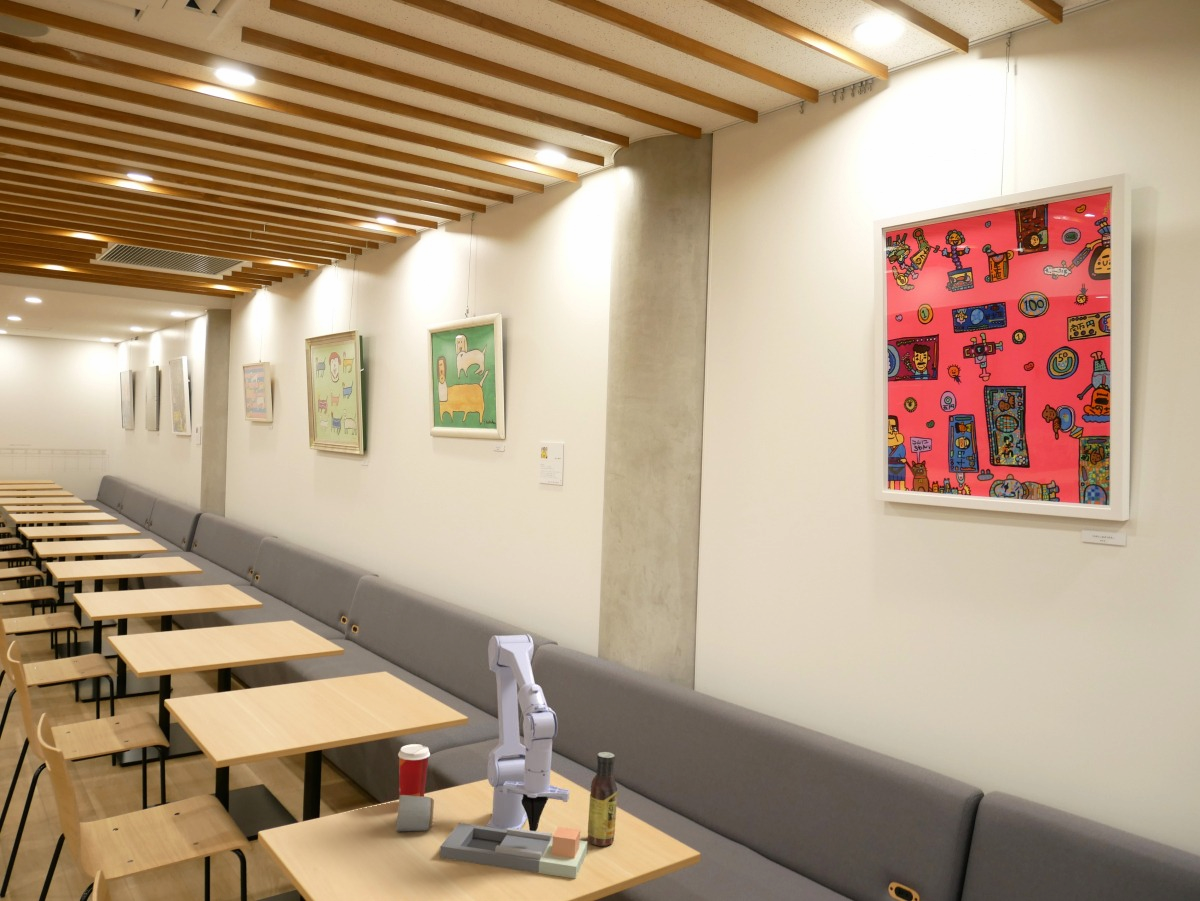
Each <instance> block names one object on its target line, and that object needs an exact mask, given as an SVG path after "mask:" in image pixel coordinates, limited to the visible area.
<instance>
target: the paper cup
mask: <svg viewBox="0 0 1200 901" xmlns="http://www.w3.org/2000/svg"><path fill="white" fill-rule="evenodd" d="M429 749H430V748H429V747H428V746H425V745H422V744H418V743H417V744H416V743H413V744H412V743H411V744H406V745H403V746H401V747H400V748H399V752H398V754H397V756H398V757H399V758H398V759H399V760H398V761H399V764H398V765H399V768H398V770H399V772H398V773H399V774H398V777H399V780H398V783H399V784H398V793H399V795H398V798H399V797H400V795H408V796H423V797H425V789H426V783H427V774H428V765H429V757H430V756H431V753H430V750H429Z"/></svg>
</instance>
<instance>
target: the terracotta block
mask: <svg viewBox="0 0 1200 901" xmlns="http://www.w3.org/2000/svg"><path fill="white" fill-rule="evenodd" d="M552 836H553V842H552V855H555V856H562V857H569V858H575V856H576V854H577V852H578V849H579V843H580V840H581V829H579V828H578V829H577V828H570V827H565V826H557V828H556V830H555V831H554V833H553V834H552Z"/></svg>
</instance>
